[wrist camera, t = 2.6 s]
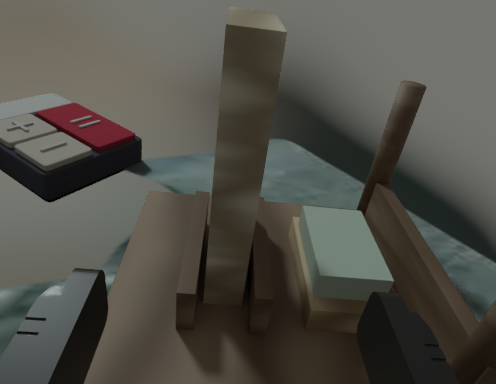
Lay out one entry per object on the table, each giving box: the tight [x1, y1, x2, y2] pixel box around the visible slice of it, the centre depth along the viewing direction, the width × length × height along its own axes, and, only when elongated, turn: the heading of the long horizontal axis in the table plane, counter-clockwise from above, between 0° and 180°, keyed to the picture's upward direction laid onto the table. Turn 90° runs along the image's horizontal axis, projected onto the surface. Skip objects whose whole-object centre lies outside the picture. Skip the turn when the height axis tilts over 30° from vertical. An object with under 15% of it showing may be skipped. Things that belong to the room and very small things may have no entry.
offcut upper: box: [298, 206, 394, 301], centre depth 24 cm, size 4×7×2 cm, turn 1°
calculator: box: [0, 93, 142, 202], centre depth 38 cm, size 11×4×15 cm
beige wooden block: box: [203, 7, 287, 306], centre depth 21 cm, size 2×6×16 cm, turn 1°
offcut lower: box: [288, 217, 367, 334], centre depth 25 cm, size 5×9×2 cm, turn 1°
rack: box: [84, 81, 496, 384], centre depth 23 cm, size 20×18×14 cm
